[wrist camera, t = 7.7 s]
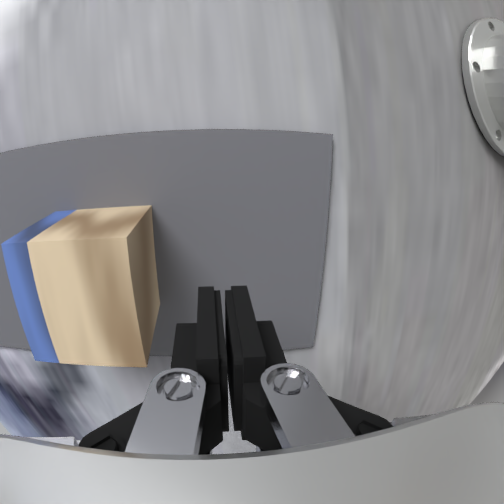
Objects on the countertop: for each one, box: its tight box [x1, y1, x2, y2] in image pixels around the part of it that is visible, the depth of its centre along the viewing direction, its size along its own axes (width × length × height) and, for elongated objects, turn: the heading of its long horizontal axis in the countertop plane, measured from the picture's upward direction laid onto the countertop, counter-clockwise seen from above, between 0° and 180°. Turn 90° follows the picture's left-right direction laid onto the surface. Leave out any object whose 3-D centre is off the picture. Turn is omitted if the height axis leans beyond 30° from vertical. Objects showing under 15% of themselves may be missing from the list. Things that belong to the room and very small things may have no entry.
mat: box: [0, 129, 333, 356], centre depth 17 cm, size 26×14×1 cm, turn 89°
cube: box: [1, 205, 160, 367], centre depth 14 cm, size 6×6×6 cm
